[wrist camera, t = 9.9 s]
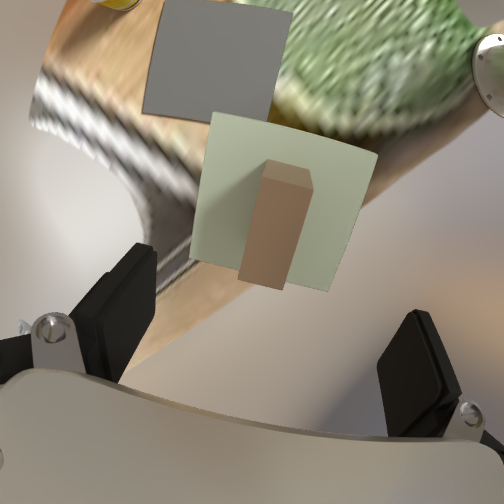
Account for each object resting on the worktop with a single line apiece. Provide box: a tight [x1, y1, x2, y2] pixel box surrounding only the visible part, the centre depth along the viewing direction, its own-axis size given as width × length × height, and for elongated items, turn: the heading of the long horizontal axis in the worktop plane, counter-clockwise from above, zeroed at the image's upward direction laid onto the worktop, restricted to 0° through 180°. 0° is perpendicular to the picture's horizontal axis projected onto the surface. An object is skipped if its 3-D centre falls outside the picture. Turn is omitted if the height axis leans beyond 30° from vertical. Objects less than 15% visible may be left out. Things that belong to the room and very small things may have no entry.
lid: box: [189, 112, 378, 292], centre depth 21 cm, size 12×12×6 cm
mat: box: [143, 0, 293, 123], centre depth 32 cm, size 16×16×1 cm
